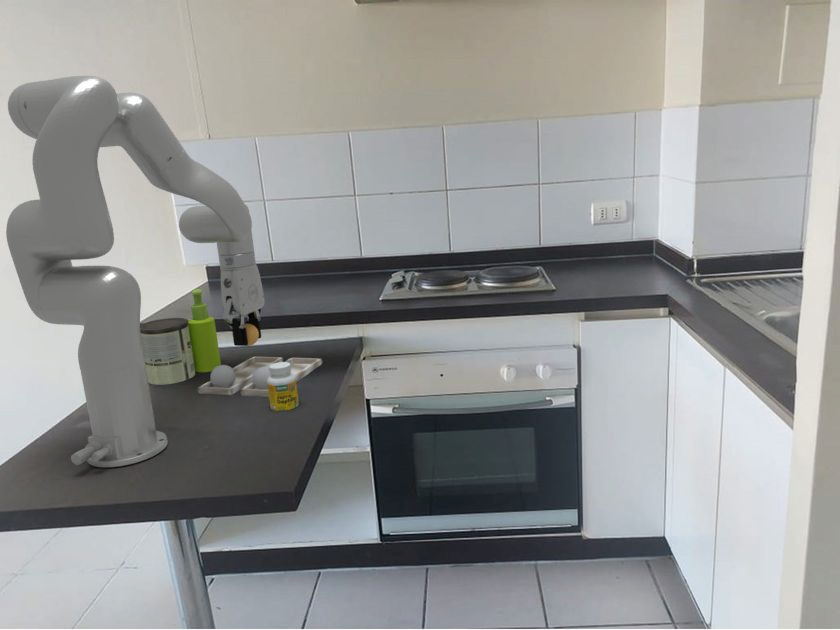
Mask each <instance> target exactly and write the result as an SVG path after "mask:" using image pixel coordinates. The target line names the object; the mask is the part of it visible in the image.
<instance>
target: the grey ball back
mask: <svg viewBox="0 0 840 630" xmlns="http://www.w3.org/2000/svg"><path fill="white" fill-rule="evenodd" d="M232 368H233V367H231V366H229V365H227V364H221V365H219V366H217V367H215V368H214V369H213V371H210V380H211V382H212V384H213V385H214V386H215V387H221V388H228V387H230V386H231V385H232V384H233V383H234V381H235V372H234V370H233V369H232Z"/></svg>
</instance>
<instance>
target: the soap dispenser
mask: <svg viewBox="0 0 840 630" xmlns="http://www.w3.org/2000/svg"><path fill="white" fill-rule="evenodd" d="M191 292H192V296H193V302H194V303H193V304H192V305H190V308H191V315H192V319H188V328H189V335H190V342H191V348H192V355H193V362H194V369H195V373H196V372H197V373H209V372H210V373H211V372H212V371H213V369H214V368H215V367H217V366H219V365H222V362H221V355H220V350H219V349H220V348H219V341H218V335H217V329H216V327H217V326H216V322H215V318H214V317H212V316H209V311H208V306H207V305H208V304H207V303H204V302H203V298H202V289H201V288H196V289H191Z"/></svg>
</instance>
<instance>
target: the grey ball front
mask: <svg viewBox="0 0 840 630" xmlns="http://www.w3.org/2000/svg"><path fill="white" fill-rule="evenodd" d="M269 376H271V374H270V372H269V367H268V366H264V367H261V368H259V369H257V370H256V372H255V373H254V375H253V382H254V385H255V386H256V387H257V388H258V389H264V390H268V385H267V379H268V378H269Z"/></svg>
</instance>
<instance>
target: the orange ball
mask: <svg viewBox="0 0 840 630" xmlns="http://www.w3.org/2000/svg"><path fill="white" fill-rule="evenodd" d="M244 328H246V332H247V339H248V345H247V346H246V347H251V346H253V345H254V344H256V343H257V342H258V341H259V339H258V337H259V332H258V330H257V328H256V327H255V326H254V325H252V324H246V323H244Z"/></svg>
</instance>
